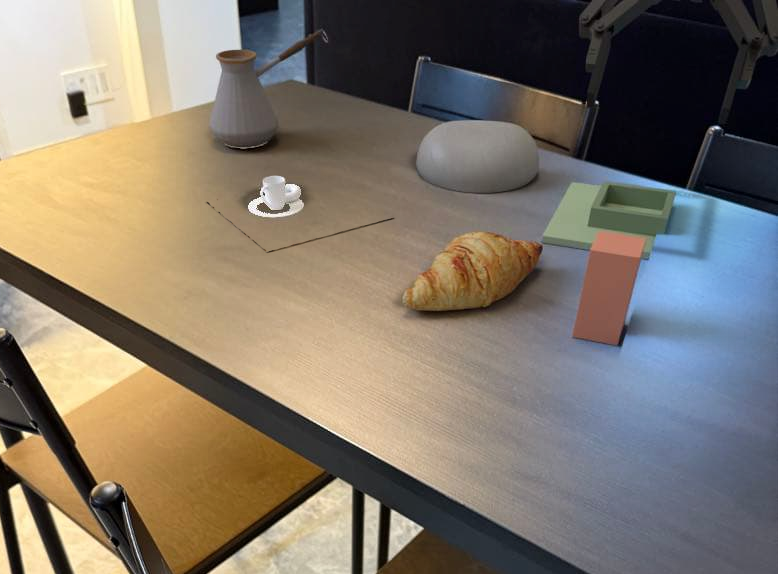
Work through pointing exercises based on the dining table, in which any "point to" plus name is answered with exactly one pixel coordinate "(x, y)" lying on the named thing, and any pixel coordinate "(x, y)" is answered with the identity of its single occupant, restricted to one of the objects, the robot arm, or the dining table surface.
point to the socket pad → (609, 214)
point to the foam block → (608, 286)
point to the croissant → (473, 272)
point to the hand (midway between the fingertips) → (655, 108)
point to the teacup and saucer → (277, 197)
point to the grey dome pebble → (478, 156)
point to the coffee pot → (246, 97)
